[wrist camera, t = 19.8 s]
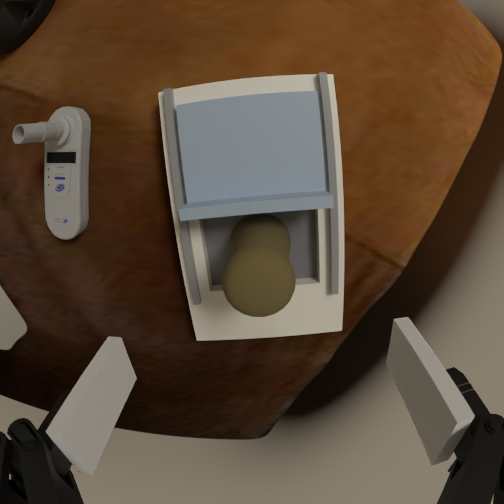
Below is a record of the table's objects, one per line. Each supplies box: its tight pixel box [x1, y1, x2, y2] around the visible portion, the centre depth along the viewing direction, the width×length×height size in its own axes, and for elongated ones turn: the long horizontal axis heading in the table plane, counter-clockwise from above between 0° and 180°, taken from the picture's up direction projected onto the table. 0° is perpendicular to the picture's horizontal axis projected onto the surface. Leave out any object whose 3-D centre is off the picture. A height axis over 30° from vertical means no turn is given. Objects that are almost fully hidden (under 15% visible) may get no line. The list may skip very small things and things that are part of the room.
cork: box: [222, 213, 296, 317], centre depth 25 cm, size 6×6×11 cm
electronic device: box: [13, 106, 91, 240], centre depth 25 cm, size 5×10×15 cm
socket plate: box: [158, 72, 344, 341], centre depth 29 cm, size 26×16×3 cm, turn 6°
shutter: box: [176, 91, 334, 221], centre depth 24 cm, size 10×12×4 cm
